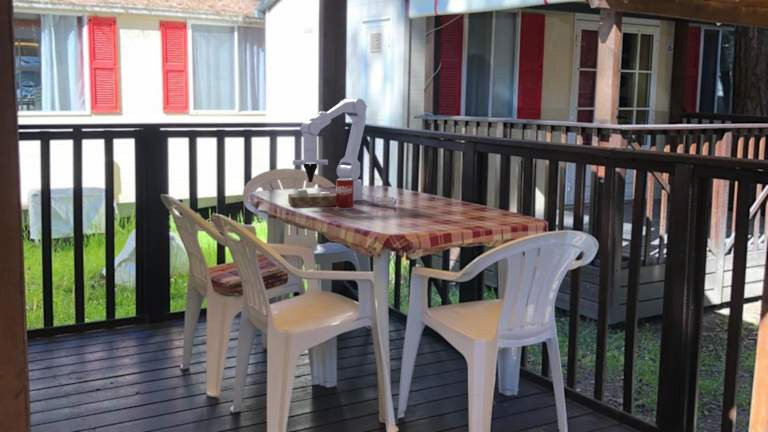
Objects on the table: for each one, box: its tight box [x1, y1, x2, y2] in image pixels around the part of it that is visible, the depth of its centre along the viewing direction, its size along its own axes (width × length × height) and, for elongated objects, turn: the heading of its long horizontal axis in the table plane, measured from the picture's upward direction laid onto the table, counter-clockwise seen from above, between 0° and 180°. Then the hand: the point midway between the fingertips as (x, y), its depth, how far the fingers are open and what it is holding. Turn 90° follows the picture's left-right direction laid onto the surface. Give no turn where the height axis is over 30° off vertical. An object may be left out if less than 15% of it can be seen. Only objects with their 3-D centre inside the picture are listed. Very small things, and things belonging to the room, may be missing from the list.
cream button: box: [319, 191, 331, 196], centre depth 350 cm, size 4×4×4 cm
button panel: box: [287, 192, 336, 208], centre depth 349 cm, size 20×10×4 cm, turn 104°
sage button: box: [295, 189, 309, 196], centre depth 347 cm, size 4×4×4 cm
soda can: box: [335, 178, 355, 210], centre depth 338 cm, size 7×7×12 cm
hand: (310, 182), depth 347 cm, fingers closed
